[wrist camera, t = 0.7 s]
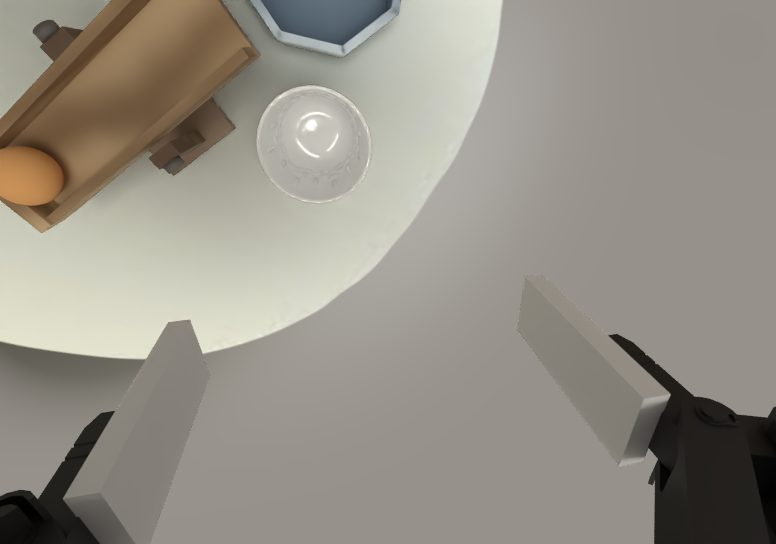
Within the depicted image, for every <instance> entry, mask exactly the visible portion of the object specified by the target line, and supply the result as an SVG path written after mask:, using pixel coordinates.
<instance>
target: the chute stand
mask: <svg viewBox="0 0 776 544" xmlns="http://www.w3.org/2000/svg"><path fill="white" fill-rule="evenodd" d="M83 31H84V30H79V29H73V28H68V27H63V26H62V27H61V28H60V27H59V26H58V25H57V24H56V23H55V22H54V21H53V20H46V21H43V22H41V23H40V24H38V25H37V26H36V27H35V28H34V29H33V33H34V34H35V35H36V36H37V38H38V39H39V40H40V41H41V42H42V43H43V44H42V45H41V46H40V48H41V49H42V50H43V51H44V52H45V53H46V54H47V55H48V56H49V57H50V58H51V59H52V60H53V61H54V62H55V60H56V59H57V58H58V57H59V56H60V55H61V54H62V53H63V52H64V51H65V50H66V49H67V48H68V47H69V46H70V44H71V43H72V42H73V41H74V40H75V39H76V38H77V37H78V36H79V35H80V34H81V33H82V32H83ZM234 129H235V126H234V125H233V124H232V123H231V122H230V120H229V119H228V118H227V117H226V115H225V114H224V113H223V112H222V111H221V109H220V108H219V107H218V106H217V105H216V103H215V102H214V101H213V100H212V98H211V97H210V98H209V99H208V100H207V101H206V102H205V103H203V104H202V105H201V106H200V107H199V108H197V109H196V110H195V111H194V112H193V113H191V114H190V115H189V116H188V117H187V118H186V119H184V120H183V121H182V122H181V123H180V124H178V125H177V126H176V127H175V128H174V129H173V130H171V131H170V132H169V133H168V134H167V135H165V136H164V137H163V138H162V139H161V140H159V141H158V142H157V143H156V144H155V145H154V146H152V147H151V148H150V149H149V151H150V152H151V153H152V154H153V155H152V156H150V157H149V159H150V160H151V161H152V162H153V163H154V164H155V165H156V166H157V167H158V168H159V170H160V169H162V168H164V169H165V170H166V171H167V172H168V173H169V174H170V173H171V174H172V175H173V176H174V175H175V174H177V173H178V172H179V171H181V170H182V169H183V168H185V167H186V166H187V165H188V164H190V163H191V162H192V161H194V160H195V159H196V158H197V157H199V156H200V155H201V154H203V153H204V152H205V151H207V150H208V149H209V148H210V147H212V146H213V145H214V144H216V143H217V142H218V141H219V140H221V139H222V138H223V137H225V136H226V135H227V134H228V133H230V132H231V131H232V130H234Z"/></svg>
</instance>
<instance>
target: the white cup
mask: <svg viewBox="0 0 776 544" xmlns="http://www.w3.org/2000/svg"><path fill="white" fill-rule="evenodd" d="M256 146H257V153H258V157H259V160H260V163H261V166H262V168H263V170H264V172H265V173H266V175H267V176H268V178H269V179H270V180H271V182H272V183H273V184H274V185H275V186H276V187H277V188H278V189H280V190H281V191H282V192H284V193H285V194H287V195H288V196H290V197H292V198H294V199H297V200H299V201H303V202H307V203H317V204H318V203H328V202H332V201H336V200H338V199H341V198H343V197H344V196H346V195H348V194H349V193H351V192H352V191H353V190H354V189H355V188H356V187H357V186H358V185H359V184H360V182H361V181H362V180H363V178H364V176H365V174H366V172H367V170H368V168H369V164H370V160H371V154H372V143H371V136H370V132H369V128H368V126H367V123H366V121H365V119H364V117H363V116H362V114H361V113H360V111H359V110H358V109H357V107H356V106H355V105H354V104H353V103H352V102H351V101H350V100H349V99H347V98H346V97H345V96H343V95H342V94H340V93H338V92H336V91H334V90H332V89H329V88H326V87H321V86H314V85H307V86H299V87H295V88H292V89H289V90H287V91H285V92H283V93H282V94H280V95H279V96H277V97H276V98H275V99H274V100H273V101H272V102H271V103H270V104H269V105H268V107H267V108H266V109H265V111H264V113H263V114H262V116H261V119H260V121H259V125H258V129H257V135H256Z"/></svg>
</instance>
